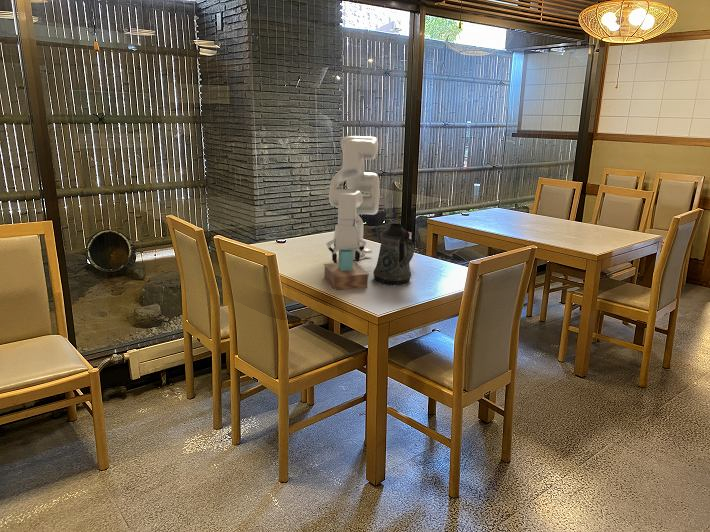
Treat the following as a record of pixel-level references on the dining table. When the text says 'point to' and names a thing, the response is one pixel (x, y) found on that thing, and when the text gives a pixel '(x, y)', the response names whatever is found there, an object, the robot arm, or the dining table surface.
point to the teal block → (345, 259)
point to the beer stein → (394, 256)
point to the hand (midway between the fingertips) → (345, 261)
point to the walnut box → (346, 276)
